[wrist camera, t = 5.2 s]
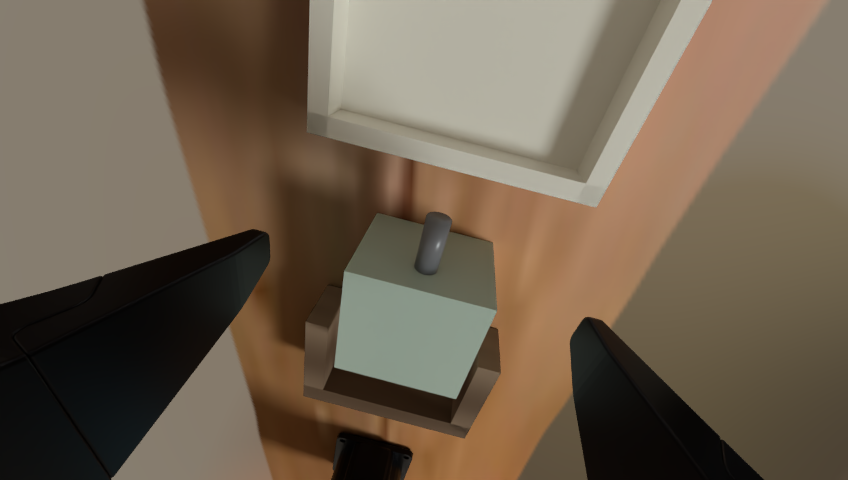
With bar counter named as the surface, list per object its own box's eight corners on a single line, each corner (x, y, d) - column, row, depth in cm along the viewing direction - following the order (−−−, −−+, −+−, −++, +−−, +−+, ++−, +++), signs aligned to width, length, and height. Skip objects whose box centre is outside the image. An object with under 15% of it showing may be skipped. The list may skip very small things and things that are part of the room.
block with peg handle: (461, 322, 20) (455, 399, 16) (364, 297, 20) (334, 367, 16) (509, 199, 16) (519, 261, 11) (384, 167, 16) (349, 217, 12)
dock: (466, 394, 24) (464, 438, 21) (322, 356, 24) (303, 396, 21) (498, 329, 20) (500, 373, 17) (327, 284, 20) (305, 321, 17)
